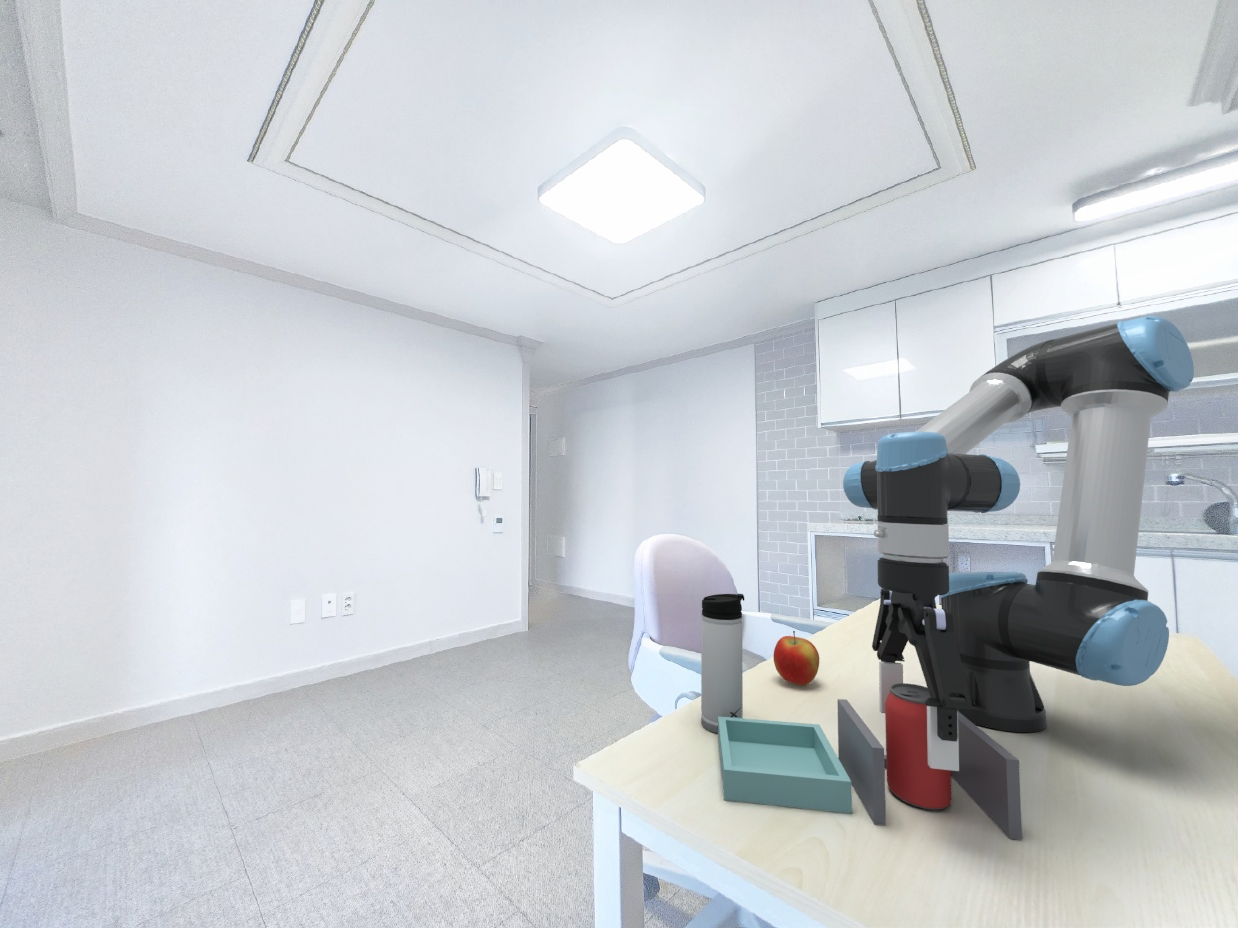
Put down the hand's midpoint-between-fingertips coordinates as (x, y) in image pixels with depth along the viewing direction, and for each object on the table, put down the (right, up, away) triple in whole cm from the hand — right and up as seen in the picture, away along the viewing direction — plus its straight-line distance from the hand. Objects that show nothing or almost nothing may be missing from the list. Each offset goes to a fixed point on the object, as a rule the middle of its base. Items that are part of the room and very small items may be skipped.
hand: (914, 737), depth 58 cm
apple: (-1, -9, +34) cm, 36 cm away
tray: (-15, -7, +4) cm, 17 cm away
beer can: (0, -7, 0) cm, 7 cm away
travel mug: (-19, -8, +17) cm, 27 cm away
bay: (0, -7, 0) cm, 7 cm away
